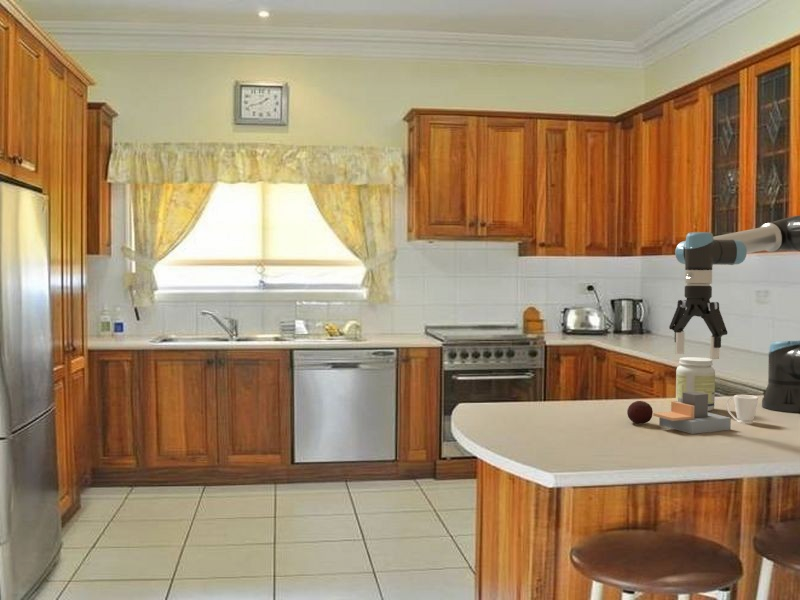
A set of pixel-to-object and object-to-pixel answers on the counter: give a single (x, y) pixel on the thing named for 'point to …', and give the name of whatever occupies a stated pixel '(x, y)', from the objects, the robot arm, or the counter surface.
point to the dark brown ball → (640, 412)
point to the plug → (697, 403)
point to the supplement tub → (695, 378)
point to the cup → (744, 408)
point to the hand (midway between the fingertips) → (696, 356)
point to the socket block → (699, 424)
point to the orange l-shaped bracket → (677, 412)
